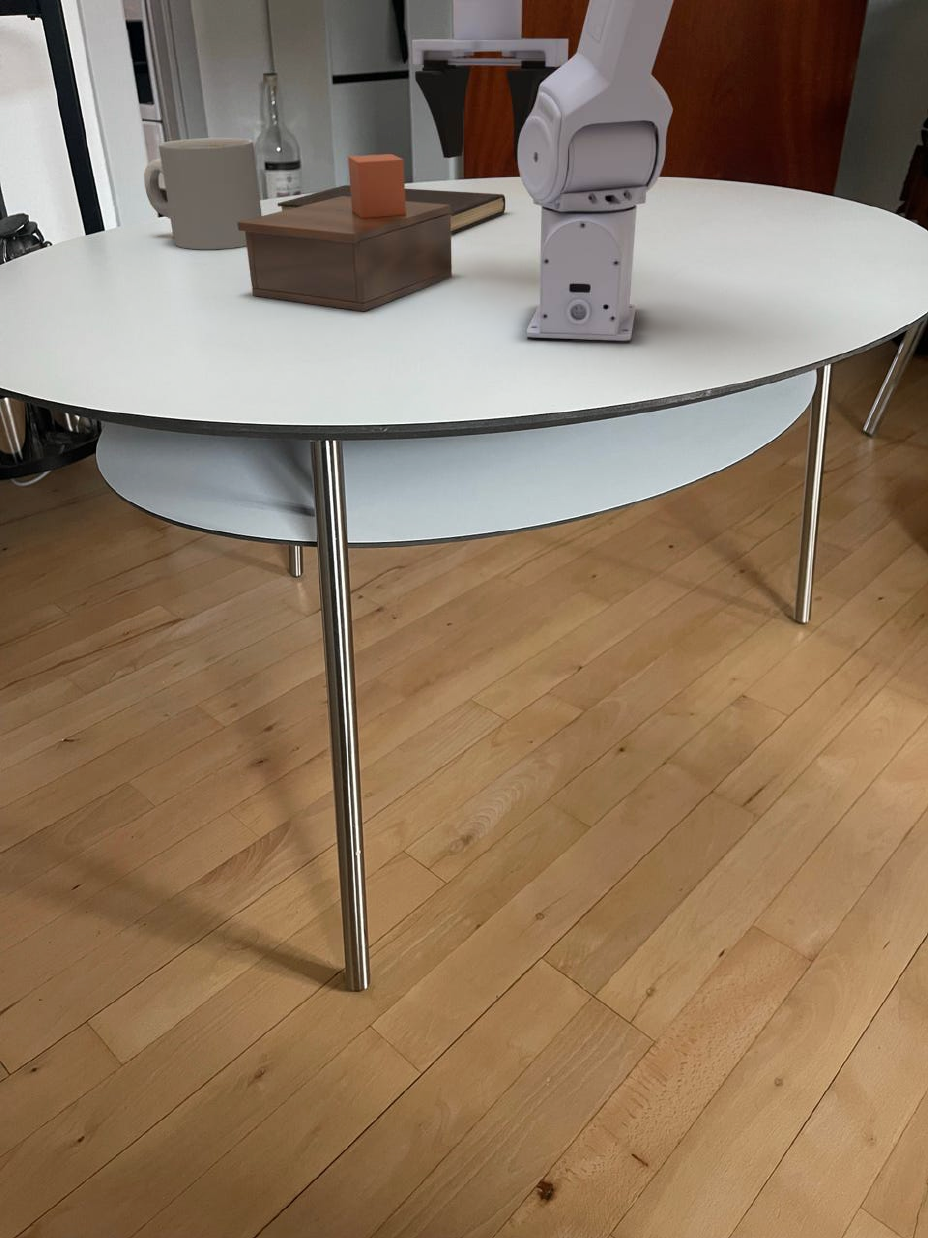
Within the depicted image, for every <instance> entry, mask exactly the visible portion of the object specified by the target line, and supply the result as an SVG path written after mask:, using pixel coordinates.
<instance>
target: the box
mask: <svg viewBox="0 0 928 1238" xmlns="http://www.w3.org/2000/svg"><path fill="white" fill-rule="evenodd" d="M245 236H246V244H247V246H246V250H247V258H248V267H249V275H250V282H251V283H250V284H251V291H252V296H254V297H262V298H267V299H274V300H282V301H288V302H295V303H303V304H309V305H316V306H323V307H330V308H339V309H344V310H350V311H358V312H367V311H369V310H372V309H375V308H377V307H379V306H382V305H385V304H387V303H390V302H392V301H395V300H397V299H400V298H403V297H405V296H407V295H410V294H412V293H415V292H417V291H420V290H422V289H425V288H427V287H430V286H432V285H436V284H438V283H440V282H443V281H445V280H448V279H450V278H453V270H452V269H453V265H452V264H453V261H452V260H453V259H452V235H451V214H449V213H448V214H445V215H442V216H439V217H435V218H432V219H429V220H426V221H423V222H419V223H416V224H413V225H410V226H406V227H403V228H400V229H397V230H394V231H390V232H387V233H384V234H381V235H377V236H374V237H371V238H368V239H365V240H361V241H358V242H355V243H351V242H341V241H332V240H323V239H313V238H304V237H294V236H285V235H276V234H266V233H257V232H248V231H245Z"/></svg>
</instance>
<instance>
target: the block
mask: <svg viewBox="0 0 928 1238" xmlns="http://www.w3.org/2000/svg"><path fill="white" fill-rule="evenodd" d="M347 162H348V175H349V185H350V190H351V203H352V211H353V212H354V213H356V214H357V215H358V216H360V217H361V218H373V217H387V216H400V215H406V205H405V189H406V188H405V187H406V185H405V164H404V163H405V161H404V158H402V157H399V156H397V155H395V154H392V153H385V154H368V155H367V154H366V155H349V156H348V157H347Z"/></svg>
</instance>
